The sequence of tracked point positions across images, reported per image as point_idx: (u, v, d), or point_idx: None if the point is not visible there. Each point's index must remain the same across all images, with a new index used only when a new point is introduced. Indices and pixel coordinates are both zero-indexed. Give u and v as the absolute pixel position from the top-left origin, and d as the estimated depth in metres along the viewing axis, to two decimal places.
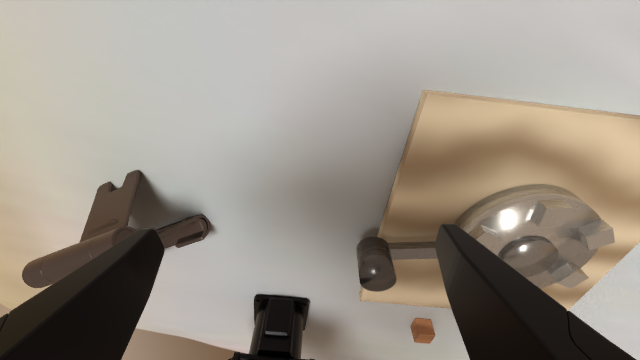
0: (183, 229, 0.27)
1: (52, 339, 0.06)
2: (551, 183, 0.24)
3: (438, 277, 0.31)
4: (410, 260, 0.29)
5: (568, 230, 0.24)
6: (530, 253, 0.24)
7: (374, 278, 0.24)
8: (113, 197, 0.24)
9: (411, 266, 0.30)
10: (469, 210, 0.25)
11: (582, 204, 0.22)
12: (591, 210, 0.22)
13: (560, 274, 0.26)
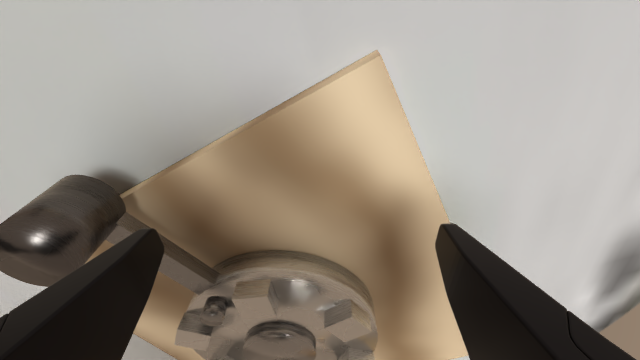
0: None
1: (52, 339, 0.06)
2: (368, 286, 0.18)
3: (163, 300, 0.20)
4: None
5: (340, 344, 0.18)
6: (287, 347, 0.17)
7: (22, 253, 0.10)
8: None
9: None
10: (274, 253, 0.16)
11: (376, 329, 0.17)
12: (375, 339, 0.18)
13: None
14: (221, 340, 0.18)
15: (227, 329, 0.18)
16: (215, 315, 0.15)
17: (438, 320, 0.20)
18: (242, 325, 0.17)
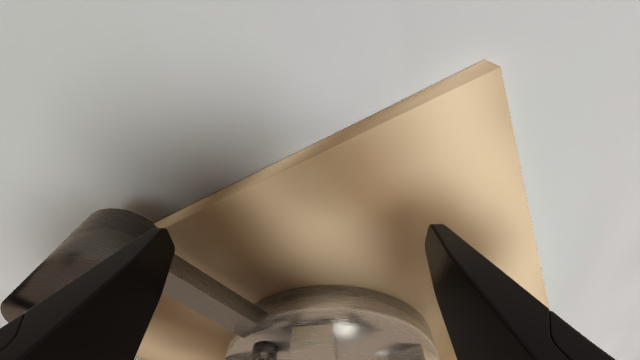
0: None
1: (68, 340, 0.06)
2: (429, 322, 0.16)
3: (195, 336, 0.17)
4: None
5: None
6: None
7: None
8: None
9: (171, 301, 0.15)
10: (329, 289, 0.14)
11: None
12: None
13: None
14: None
15: None
16: None
17: None
18: None
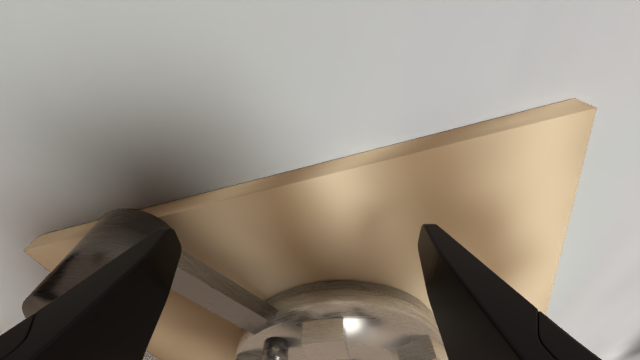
0: None
1: (79, 339, 0.06)
2: None
3: (203, 318, 0.17)
4: None
5: None
6: None
7: None
8: None
9: None
10: (338, 284, 0.14)
11: None
12: None
13: None
14: None
15: None
16: None
17: None
18: None
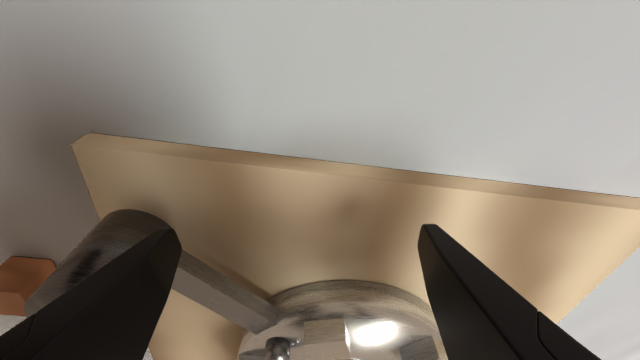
0: None
1: (79, 340, 0.06)
2: None
3: None
4: (273, 237, 0.13)
5: None
6: None
7: None
8: None
9: (254, 241, 0.13)
10: (339, 284, 0.14)
11: None
12: None
13: None
14: None
15: None
16: None
17: None
18: None
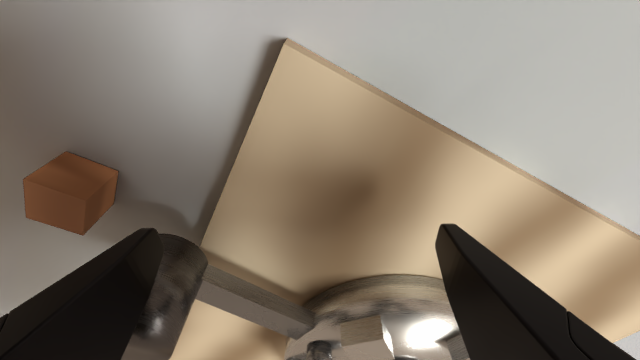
0: None
1: (52, 340, 0.06)
2: None
3: (323, 254, 0.13)
4: (411, 219, 0.12)
5: None
6: None
7: None
8: None
9: (389, 218, 0.12)
10: (372, 281, 0.14)
11: None
12: None
13: None
14: None
15: None
16: None
17: None
18: None
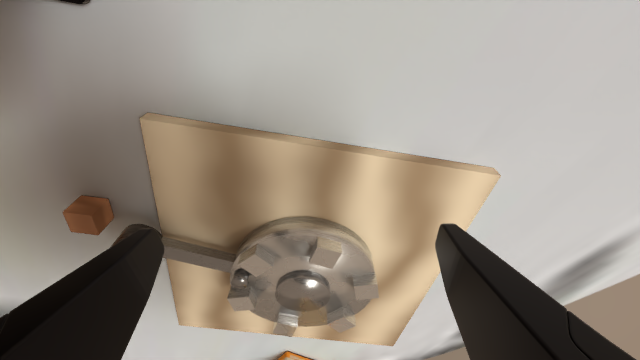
0: None
1: (52, 339, 0.06)
2: None
3: (226, 217, 0.23)
4: (257, 184, 0.21)
5: (345, 275, 0.23)
6: (303, 288, 0.23)
7: None
8: None
9: (245, 186, 0.21)
10: (261, 227, 0.23)
11: (358, 253, 0.22)
12: (366, 261, 0.22)
13: (333, 316, 0.25)
14: (267, 301, 0.25)
15: (264, 291, 0.24)
16: (239, 280, 0.22)
17: (381, 315, 0.30)
18: (270, 285, 0.24)
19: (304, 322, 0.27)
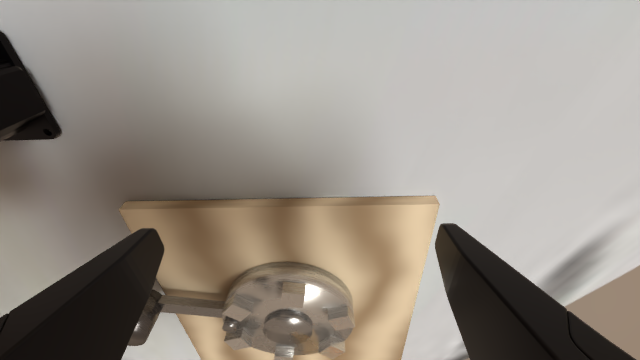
0: None
1: (52, 339, 0.06)
2: (353, 303, 0.28)
3: (210, 272, 0.26)
4: (226, 242, 0.24)
5: (321, 309, 0.25)
6: (285, 325, 0.25)
7: None
8: None
9: (216, 246, 0.24)
10: (240, 276, 0.26)
11: (325, 290, 0.24)
12: (334, 296, 0.24)
13: (323, 345, 0.28)
14: (262, 337, 0.28)
15: (256, 330, 0.27)
16: (227, 325, 0.25)
17: (377, 335, 0.31)
18: (259, 324, 0.27)
19: (301, 351, 0.29)
